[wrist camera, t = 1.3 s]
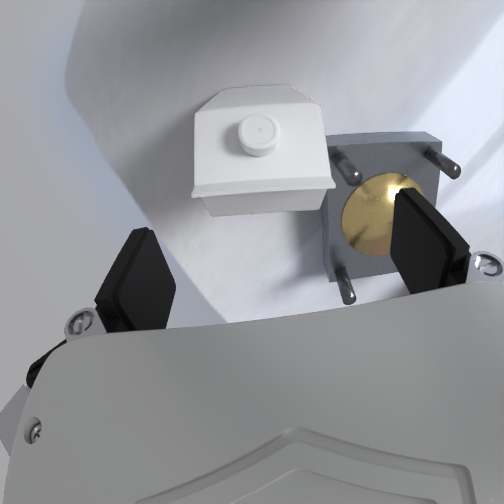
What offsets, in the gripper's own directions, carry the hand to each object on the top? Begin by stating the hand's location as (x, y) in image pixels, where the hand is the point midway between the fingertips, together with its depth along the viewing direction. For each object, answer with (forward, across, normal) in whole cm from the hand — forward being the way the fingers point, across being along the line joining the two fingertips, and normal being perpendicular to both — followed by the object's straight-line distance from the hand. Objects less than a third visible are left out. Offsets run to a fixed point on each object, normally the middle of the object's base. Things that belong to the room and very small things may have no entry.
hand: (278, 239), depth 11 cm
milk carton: (+23, 0, 0) cm, 23 cm away
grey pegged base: (+23, -13, +12) cm, 29 cm away
